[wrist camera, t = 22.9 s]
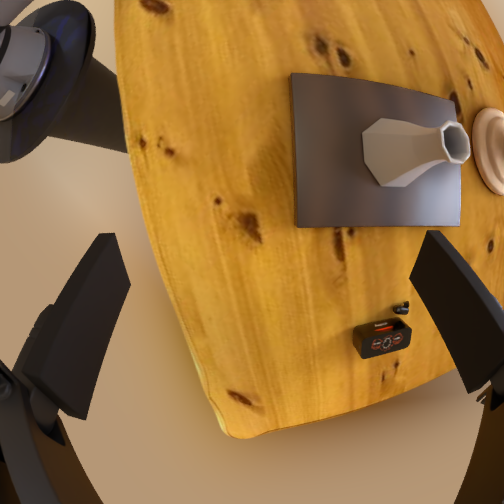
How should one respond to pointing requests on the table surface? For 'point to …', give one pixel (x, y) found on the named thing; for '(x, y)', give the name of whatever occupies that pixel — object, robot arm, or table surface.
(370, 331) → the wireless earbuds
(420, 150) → the flask
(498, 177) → the candle holder
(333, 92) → the walnut board
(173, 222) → the table surface
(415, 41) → the table surface
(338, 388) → the table surface
